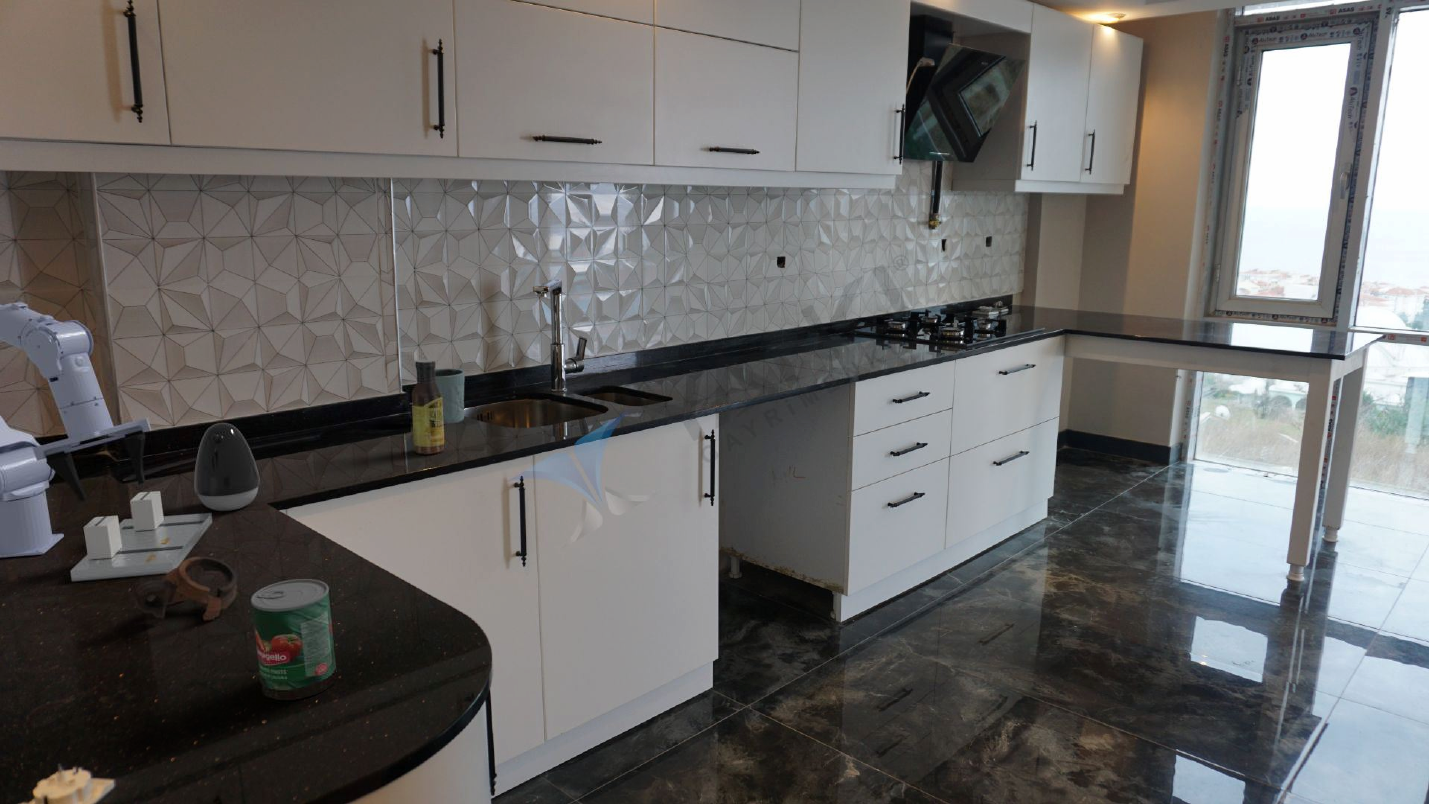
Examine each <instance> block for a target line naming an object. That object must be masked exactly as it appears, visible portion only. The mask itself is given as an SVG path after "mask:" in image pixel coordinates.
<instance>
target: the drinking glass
mask: <svg viewBox="0 0 1429 804" xmlns="http://www.w3.org/2000/svg"><path fill="white" fill-rule="evenodd" d="M435 378H436V383H437V385H438V388H439V390H440V393H441V395H442V404H443V425H448V424H449V425H451V424H456V423H460V422H463V420H464V419H465V412H464V411H465V403H464V402H465V401H464V400H465V370H463V369H460V368H448V367H447V368H435Z"/></svg>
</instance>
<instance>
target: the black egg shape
mask: <svg viewBox="0 0 1429 804" xmlns="http://www.w3.org/2000/svg"><path fill="white" fill-rule="evenodd" d="M197 452H198V453H197V456H196V462H195V468H194V482H193V483H194V485H193V486H194V491H195V493H196V494H197V496H198V499H199V500H200V502H201V503H202V504H203V505H204V506H206V507H207V508H209V509H211V510H214V511H216V512H217V511H218V512H229V511H236V510H240V509H242V508H244V507H246V506H248V505H249V504H251V503H252V502H253V501H254V499H255V498H256V496H257V494H258V490H259V486H260V485H261V484H260V483H261V479H260V473H259V471H258V467H257V463H256V461H255V457H254V455H253V453H252V450H251V448H250V446H249V444H248V442H247V440H246V439H245V436H244V435H243V434H242V433H241V431H240V430H239V429H238V428H237V427H236V426H234V425H233V424H231V423H227V422H219V423H215V424H212V425H211V426H210V427H208V428H207V430H206V431H205V432H204V434H203V436H202V438H201V441H200V444H199V448H198V451H197Z"/></svg>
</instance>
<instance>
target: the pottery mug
mask: <svg viewBox="0 0 1429 804" xmlns="http://www.w3.org/2000/svg"><path fill="white" fill-rule="evenodd" d="M196 566H198V567H199V566H200V567H201V568H202V571H203V572H221V573H222V574H223V576H224V577H225V580H226V582H228V583H227V584H226V585H224V586H221V587H218V588H217V590H216V591H217V592H216V595H211V594H210V592H211V589H210V587H208V586H205V585H202V584H199V583H197V582H195V581H194V580H192V579H191V578H190V577H189V576H188V575H187V573H188V572H189V571H190V570H192V569H193V568H194V567H196ZM237 583H238V574H237V573H236V571H235V569H234V568H233V567H232V566H231V565H229V564H228V563H226V562H224V561H222V560H220V559H219V558H215V557H210V556H193V557H190V558H186V559H184V560H183V561H182V562H181V563H180V565H179V566H178V567H176V568H174V569H173V570H171V571H170V572H169V573H165V576H163V578H162V579H161V580H149V581H145V582H144V583H142V584H140V585H139V586H138V587H137V588H136V590H134V593H133V595H132V600H133V604H134V605H135V606H136V607H137V609H139V610H140V611H141V612H142V613H147V614H152V615H153V616H154V617H155V618H157V619H162V620H163V619H164V618H165V616H166V613H165V612H166V608H167V607H166V606H167V605H169V604H170V603H171V604H172V603H173V604H174V603H178V602H180V603H181V602H182V601H183V602H186V600H188V598H190V599H193V600H194V601H196V602H197V603H198V602H199V603H201V604H202V603H203V604H204V605H205V604H206V605H205V611H204V613H203V615H202V619H203V620H204V621H206V620H210V619H212V618H215V617H217V618H218V617H219V616H220V614H221V611H225V610H226V609H228V607H229V606H230V605H231V604H232V602H233V601H234V600H235V599H236V596H237V593H238V592H237V588H238V587H237ZM151 596H155V597H154V598H153V599H152V600H148V598H149V597H151ZM183 602H182V603H183Z"/></svg>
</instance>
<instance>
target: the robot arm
mask: <svg viewBox="0 0 1429 804" xmlns="http://www.w3.org/2000/svg"><path fill="white" fill-rule="evenodd" d="M54 318H55V317H53V316H52V315H50V314H42V313H39V312H38V311H35V310H33V309H30V308H29V307H28V304H27V303H25V302H22V301H19V302H10V303H6V304H3V305H2V304H0V341H1V342H4V343H7V344H9V345H11V346H14V347H16V348H18V349H20V350H23V351H24V352H25V354H26V356H27V357H28V359H29V360H30V361H31V362H32V363H33V364H34V365H35V366H36V367H37V369H38V371H39V373H40V376H42V378H43V379H46V380H47V383H48V385H49V388H50V391H51V393H52V396H53V399H54V401H55V404H56V407H57V409H58V412H59V414H60V415H59V416H60V418H61V420H62V424H63V426H64V429H65V432H66V435H67V437H68V438H65V439H61V440H57V441H53V442H50V443H46V444H42V445H41V444H40V443H39V442H38V441H37V440H36V439H35V437H34V436H33V435H32V434H30V433H28V432H24V431H20V430H17V429H14V428H11V427H9V425H8V424H7V423H6V421H5V420H4V418H3V417H2V416H1V415H0V558H11V557H24V556H26V557H27V556H36V555H38V556H39V555H44V554H45V553H46V552H48V551H49V550H50V549H51V548H52V547H54V546H55V545H56V544H57V543H58V542H60V540H62V538H64V533H52V525H51V520H50V514H49V513H50V511H49V509H48V500H47V494H46V489H48V488H49V487H50V483H49V482H50V481H51V480H52V479H53V478H54V477H55V474H56V473H57V475H59V476H60V477H61V478H62V479H63V480H64V482H65V483H66V484H67V485H68V486H69V487H70V489H71V490H72V492H73V493H74V495H75V496H76V498H77V499H78V501H79V502H80V503H81V502H84V501H85V500H87V499H88V498H87V495H86V491H85V489H84V487H83V485H82V483H81V480H80V479H79V476H78V473H77V469H76V467H75V464H74V459H73V456H72V454H71V452H75V451H77V450H82V449H85V448H89V447H93V446H97V445H100V444H103V443H108V442H111V441H115V440H120V439H122V440H123V443H124V446H125V449H126V450H127V453H128V456H129V458H130V461H131V463H132V467H133V470H134V475H135V478H136V480H137V483H138V485H141V484H145V483H146V480H145V475H144V461H143V460H144V448H145V440H146V434H145V432H150V431H152V426H151V423H150V421H149V418H148V417H146V418H142V419H138V420H134V421H130V422H126V423H122V424H119V425H114V423H113V421H112V420H113V419H112V418H111V414H110V412H109V410H108V407H107V404H106V401H105V399H104V396H103V393H102V390H101V387H100V385H99V382H98V379H97V376H96V373H95V371H94V370H95V369H94V368H93V365H92V362H91V360H90V356H91V355H92V353H93V351H94V338H93V336H92V333H91V331H90V330H89V329H88V327H87V326H86V325H84V324H83V323H81V322H80V321H79V320H77V319H73V320H72V319H71V320H67V321H63V322H62V321H58V320H56V319H54ZM106 435H107V436H108V437H107V438H104V439H100V440H96V441H92V442H88V443H85V444H81V442H84V441H88V440H92V439H95V438H98V437H103V436H106Z"/></svg>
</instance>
